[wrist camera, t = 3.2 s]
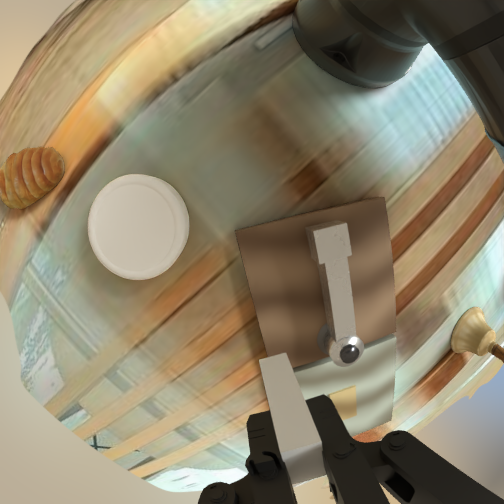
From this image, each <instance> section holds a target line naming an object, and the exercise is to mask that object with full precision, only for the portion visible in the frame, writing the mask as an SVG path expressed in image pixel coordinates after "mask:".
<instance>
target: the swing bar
mask: <svg viewBox="0 0 504 504" xmlns="http://www.w3.org/2000/svg"><path fill="white" fill-rule="evenodd" d="M305 229H306V234H307V239H308V244H309V249H310V254H311V258H312V259H313V260H315V261H316V262H317V265H318V270H319V276H320V282H321V288H322V294H323V300H324V306H325V313H326V319H327V326H328V332H327V333H326V335H325V336H324V340H323V345H324V347H325V349H326V351H327V352H328V354H329V355H330V357H331V359H332V360H333V362H334V363H335V364H336V365H337V366H340V367H347V366H350V365H352V364H354V363H356V362H357V361H358V360H359V359H360V357H361V356H362V354H363V351H364V344H363V342H362V340H361V339H360V338H359V337H358V336H357V335H356V325H355V315H354V306H353V297H352V288H351V280H350V273H349V266H348V259H347V257H348V256H351V255H352V252H351V245H350V239H349V233H348V227H347V223H346V222H342V221H338V220H334V221H329V222H325V223H321V224H317V225H313V226H309V227H305Z"/></svg>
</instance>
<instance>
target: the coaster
mask: <svg viewBox="0 0 504 504" xmlns="http://www.w3.org/2000/svg"><path fill="white" fill-rule="evenodd" d="M189 226H190V224H189V215H188V211H187V208H186V205H185V203H184V201H183V199H182V197H181V196H180V194H179V193H178V192H177V191H176V190H175V189H174V188H173V187H172V186H171V185H170V184H168V183H167V182H165V181H163V180H161V179H159V178H157V177H153V176H149V175H143V174H129V175H124V176H121V177H118V178H116V179H114V180H113V181H111V182H110V183H108V184H107V185H106V186H105V187H104V188H103V189H102V190H101V191H100V192H99V193H98V195H97V196H96V198H95V200H94V202H93V204H92V206H91V209H90V212H89V216H88V236H89V241H90V244H91V247H92V249H93V251H94V253H95V255H96V257H97V258H98V260H99V261H100V262H101V263H102V264H103V265H104V266H105V267H106V268H107V269H108V270H110V271H111V272H112V273H114V274H116V275H118V276H120V277H123V278H126V279H131V280H146V279H150V278H153V277H156V276H158V275H160V274H162V273H164V272H165V271H166V270H168V269H169V268H170V267H171V266H172V265H173V264H174V262H175V261H176V260H177V258H178V257H179V256H180V254H181V252H182V251H183V249H184V247H185V245H186V242H187V239H188V235H189Z"/></svg>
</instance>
